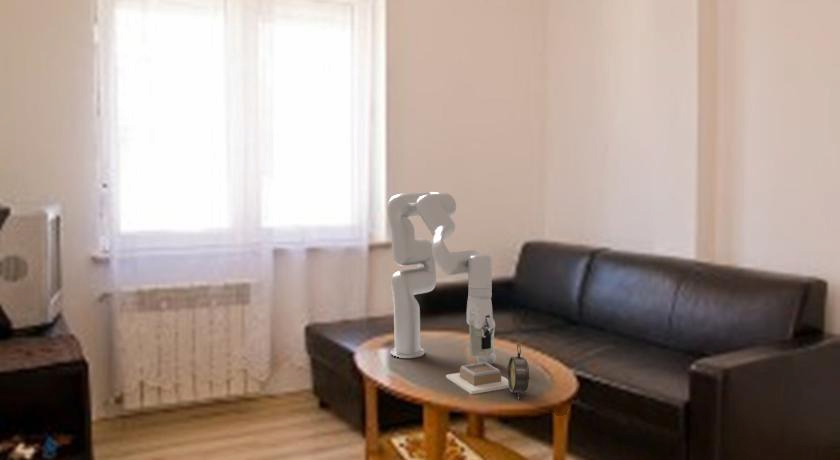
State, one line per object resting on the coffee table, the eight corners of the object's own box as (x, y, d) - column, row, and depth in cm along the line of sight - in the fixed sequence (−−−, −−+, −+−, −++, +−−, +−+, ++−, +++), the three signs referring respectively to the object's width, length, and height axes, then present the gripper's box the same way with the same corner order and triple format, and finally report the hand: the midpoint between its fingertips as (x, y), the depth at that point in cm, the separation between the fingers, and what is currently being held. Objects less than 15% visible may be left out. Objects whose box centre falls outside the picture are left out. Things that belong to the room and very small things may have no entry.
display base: (446, 377, 251) (446, 363, 250) (488, 371, 257) (488, 357, 257) (471, 394, 235) (471, 379, 234) (515, 386, 241) (515, 372, 240)
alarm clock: (506, 389, 239) (506, 339, 237) (523, 388, 239) (523, 339, 237) (514, 401, 228) (514, 349, 226) (531, 400, 228) (531, 348, 226)
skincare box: (491, 354, 246) (491, 317, 244) (488, 357, 242) (488, 320, 240) (472, 352, 248) (472, 316, 246) (469, 356, 244) (468, 319, 242)
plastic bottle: (494, 367, 261) (494, 311, 259) (475, 366, 262) (475, 310, 260) (496, 362, 267) (496, 307, 265) (477, 361, 269) (477, 306, 266)
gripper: (457, 288, 249) (458, 340, 251) (482, 298, 233) (483, 354, 235) (477, 286, 252) (477, 338, 254) (503, 296, 236) (503, 351, 238)
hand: (480, 345), depth 244 cm, fingers closed on skincare box, 7 cm apart
